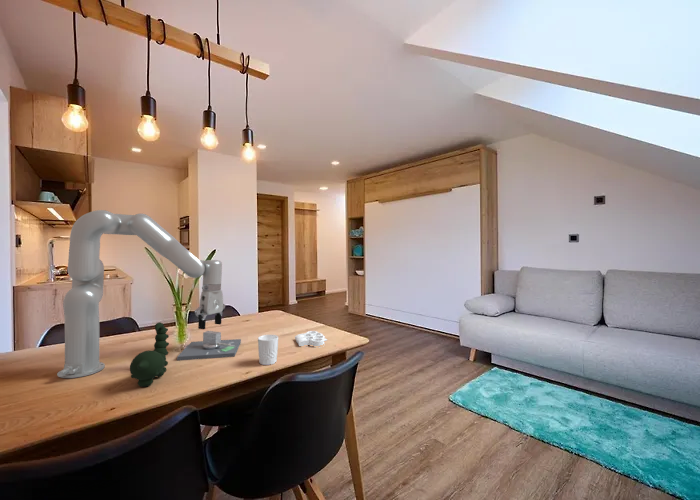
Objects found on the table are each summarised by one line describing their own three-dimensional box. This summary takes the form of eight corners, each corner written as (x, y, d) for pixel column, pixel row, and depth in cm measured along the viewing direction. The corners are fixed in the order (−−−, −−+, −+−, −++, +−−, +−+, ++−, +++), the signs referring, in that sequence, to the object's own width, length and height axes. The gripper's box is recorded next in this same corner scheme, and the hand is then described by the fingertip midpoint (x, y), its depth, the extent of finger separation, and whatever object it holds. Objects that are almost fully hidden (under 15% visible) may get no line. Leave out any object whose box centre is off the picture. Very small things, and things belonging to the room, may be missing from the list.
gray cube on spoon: (211, 343, 139) (211, 329, 139) (235, 346, 134) (235, 332, 134) (199, 348, 132) (199, 333, 132) (224, 352, 128) (224, 336, 128)
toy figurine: (147, 371, 115) (120, 396, 91) (149, 321, 117) (122, 332, 93) (175, 368, 118) (155, 392, 94) (176, 319, 120) (157, 330, 96)
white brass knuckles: (293, 338, 154) (321, 336, 159) (300, 350, 137) (331, 347, 142) (293, 332, 154) (321, 329, 159) (300, 343, 137) (331, 339, 142)
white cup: (282, 361, 123) (282, 336, 123) (267, 367, 116) (268, 341, 116) (268, 357, 127) (268, 333, 127) (253, 363, 120) (253, 338, 120)
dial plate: (234, 356, 127) (234, 352, 127) (177, 360, 122) (177, 356, 122) (240, 342, 146) (240, 338, 146) (191, 344, 142) (191, 341, 142)
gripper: (203, 290, 125) (202, 332, 124) (231, 286, 141) (230, 323, 141) (189, 289, 127) (187, 330, 127) (218, 285, 143) (217, 321, 143)
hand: (210, 326), depth 134 cm, fingers open, 9 cm apart
